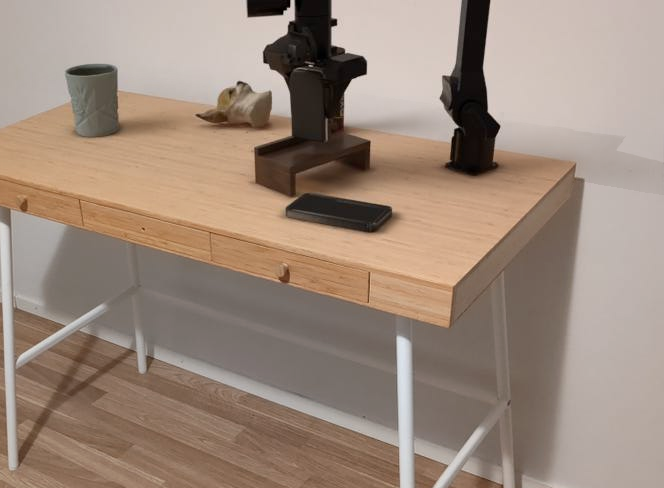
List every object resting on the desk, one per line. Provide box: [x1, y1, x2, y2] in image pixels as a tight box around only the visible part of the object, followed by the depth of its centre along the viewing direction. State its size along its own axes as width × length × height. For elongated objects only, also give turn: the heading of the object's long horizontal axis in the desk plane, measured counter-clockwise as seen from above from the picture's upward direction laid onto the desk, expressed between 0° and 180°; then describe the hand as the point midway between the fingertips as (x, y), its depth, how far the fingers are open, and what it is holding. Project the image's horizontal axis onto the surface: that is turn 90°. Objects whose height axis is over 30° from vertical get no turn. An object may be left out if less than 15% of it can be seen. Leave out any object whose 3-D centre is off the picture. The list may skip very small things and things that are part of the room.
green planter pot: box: [64, 63, 120, 138], centre depth 177 cm, size 10×10×12 cm
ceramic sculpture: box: [195, 80, 273, 128], centre depth 177 cm, size 11×9×15 cm
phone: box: [285, 192, 393, 233], centre depth 137 cm, size 8×1×15 cm
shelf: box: [253, 123, 372, 198], centre depth 150 cm, size 9×18×6 cm, turn 127°
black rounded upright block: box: [289, 65, 331, 142], centre depth 146 cm, size 7×4×11 cm, turn 50°
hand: (313, 113), depth 146 cm, fingers closed on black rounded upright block, 7 cm apart
